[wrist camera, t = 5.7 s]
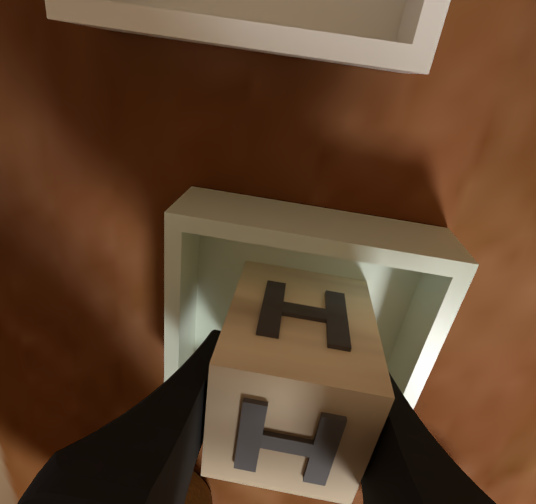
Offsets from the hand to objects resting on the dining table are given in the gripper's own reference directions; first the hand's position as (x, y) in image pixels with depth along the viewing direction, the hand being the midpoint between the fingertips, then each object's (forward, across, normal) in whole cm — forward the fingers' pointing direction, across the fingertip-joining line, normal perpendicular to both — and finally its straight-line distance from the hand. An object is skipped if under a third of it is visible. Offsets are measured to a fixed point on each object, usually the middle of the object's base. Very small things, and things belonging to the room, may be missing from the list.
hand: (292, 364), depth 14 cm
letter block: (+3, 0, 0) cm, 3 cm away
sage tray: (+3, 0, 0) cm, 3 cm away
